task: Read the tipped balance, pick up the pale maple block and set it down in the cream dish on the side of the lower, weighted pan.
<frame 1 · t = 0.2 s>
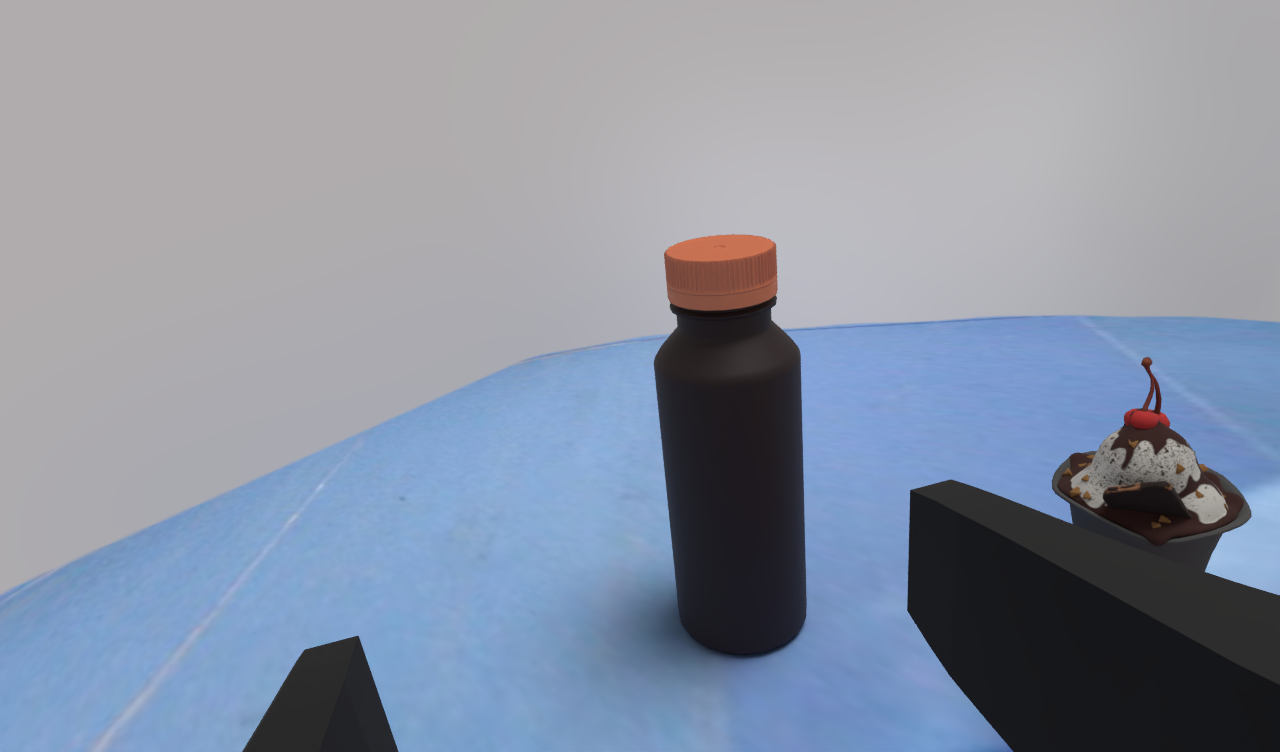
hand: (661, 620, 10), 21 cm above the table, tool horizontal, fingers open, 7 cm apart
bottle: (742, 616, 42), on the table
sundae: (1112, 687, 35), on the table
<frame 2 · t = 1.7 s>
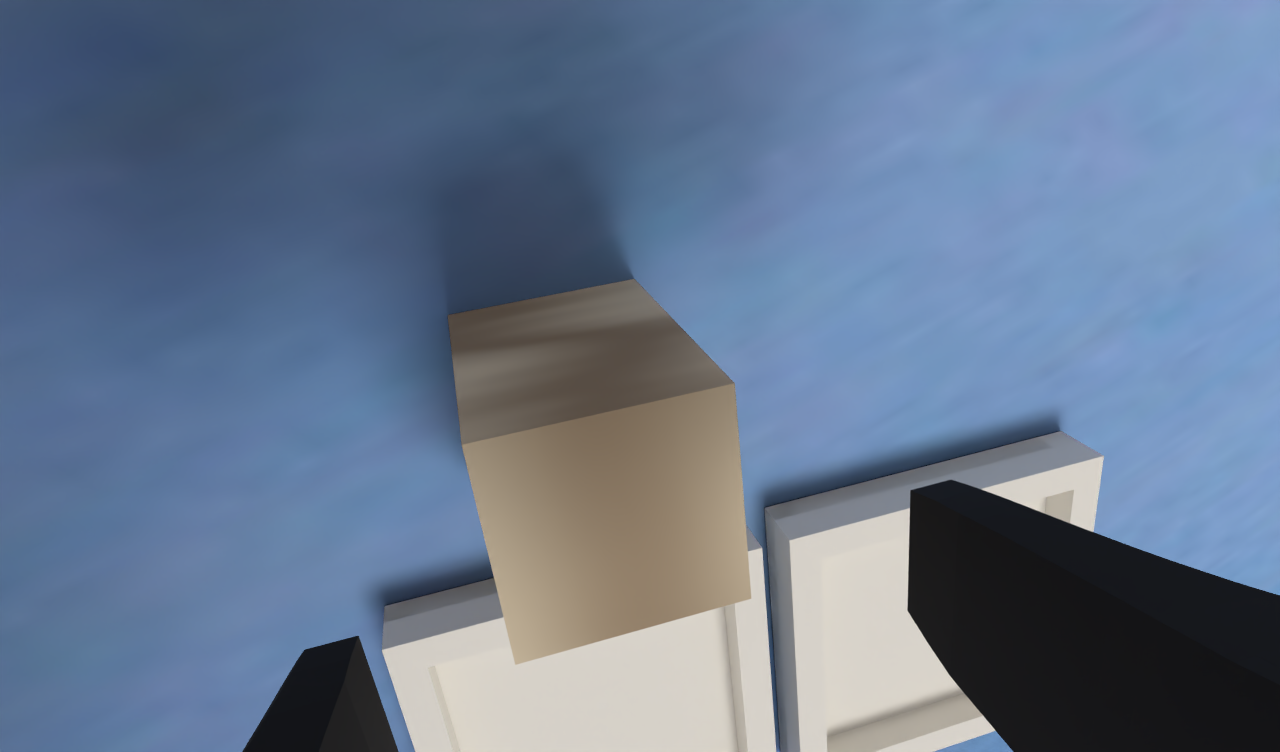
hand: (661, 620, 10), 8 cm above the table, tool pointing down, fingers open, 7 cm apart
outer dish: (914, 598, 23), on the table
inner dish: (595, 692, 21), on the table
maple block: (558, 382, 17), on the table
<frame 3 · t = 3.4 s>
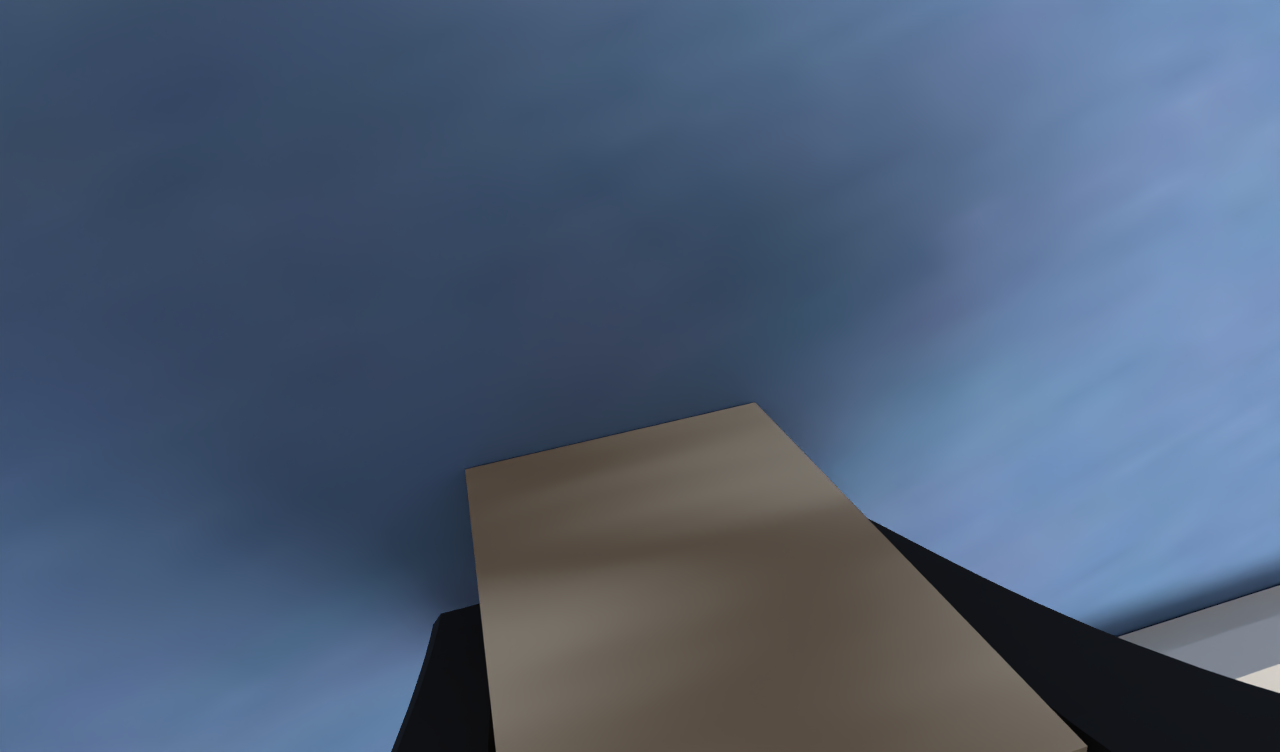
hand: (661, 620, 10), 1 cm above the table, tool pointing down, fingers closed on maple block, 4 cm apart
maple block: (633, 556, 11), on the table, touching gripper
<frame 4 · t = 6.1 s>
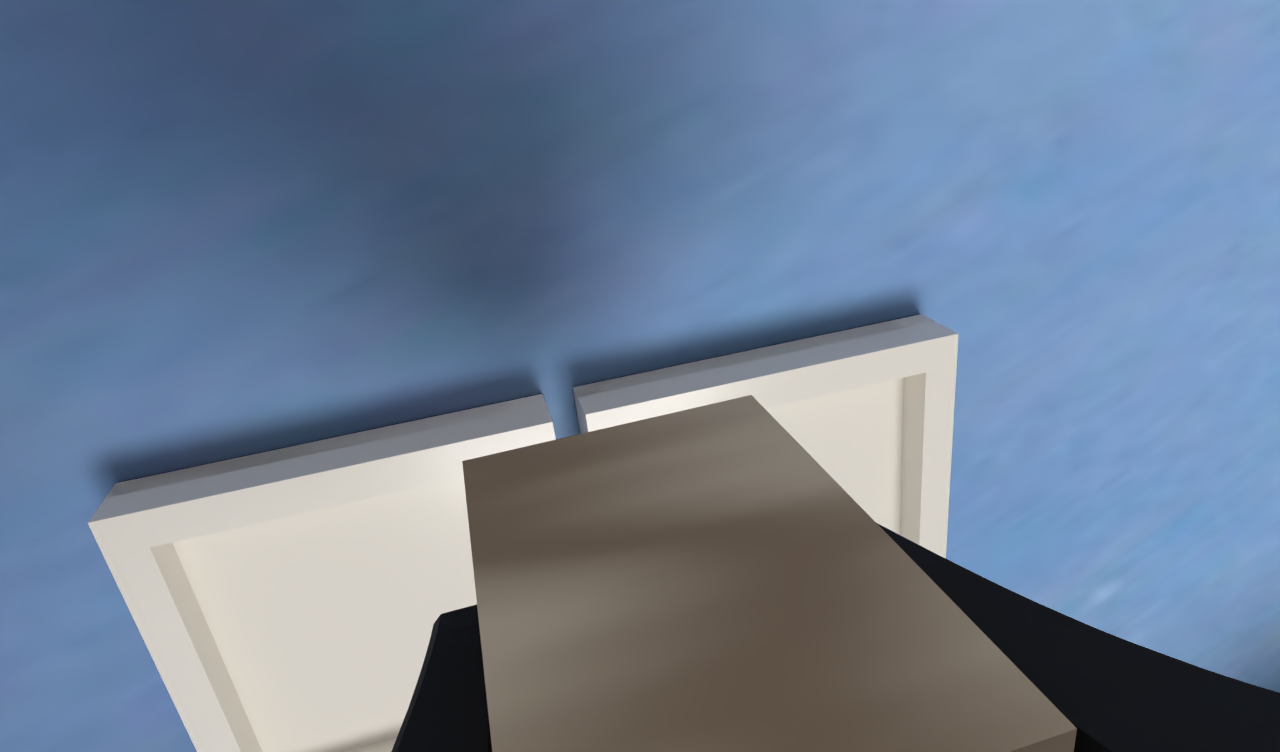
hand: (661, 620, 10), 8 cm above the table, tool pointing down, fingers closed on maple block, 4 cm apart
outer dish: (763, 505, 20), on the table
inner dish: (389, 599, 18), on the table
maple block: (630, 548, 11), point 7 cm above the table, touching gripper
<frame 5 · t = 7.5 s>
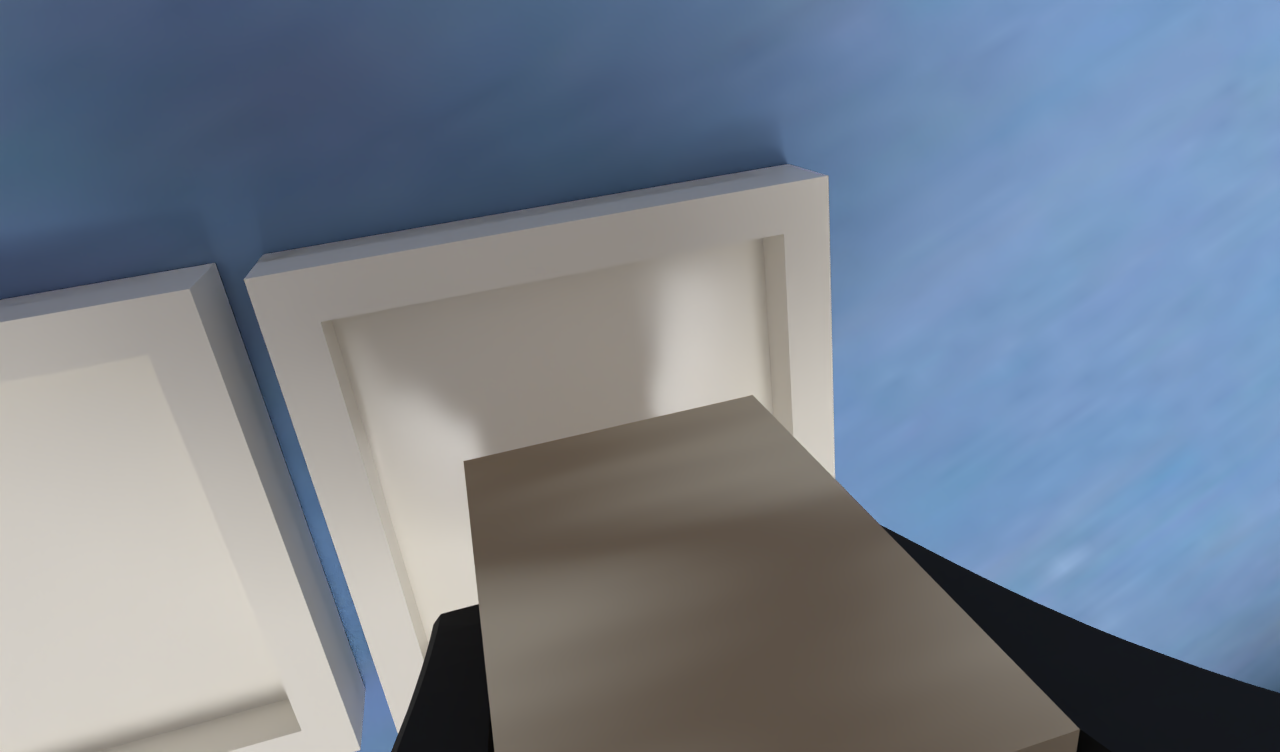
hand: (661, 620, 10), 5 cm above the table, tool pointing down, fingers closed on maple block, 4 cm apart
outer dish: (582, 438, 15), on the table
inner dish: (23, 567, 13), on the table
maple block: (631, 548, 11), point 4 cm above the table, touching gripper
when the fingers open (3 cm above the table, at t = 8.9 s): maple block stays where it is, resting on outer dish.
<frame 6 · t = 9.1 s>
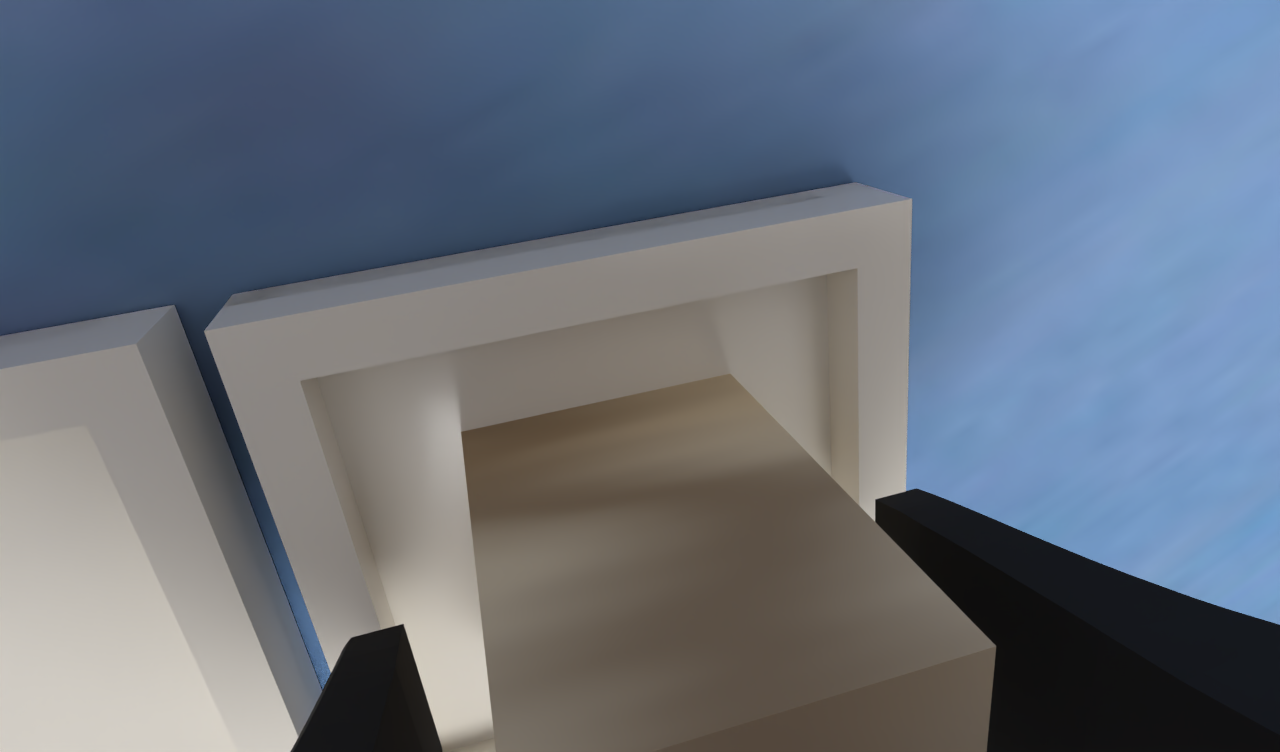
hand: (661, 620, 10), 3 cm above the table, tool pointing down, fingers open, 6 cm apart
outer dish: (610, 500, 13), on the table
maple block: (617, 517, 12), point 1 cm above the table, touching outer dish
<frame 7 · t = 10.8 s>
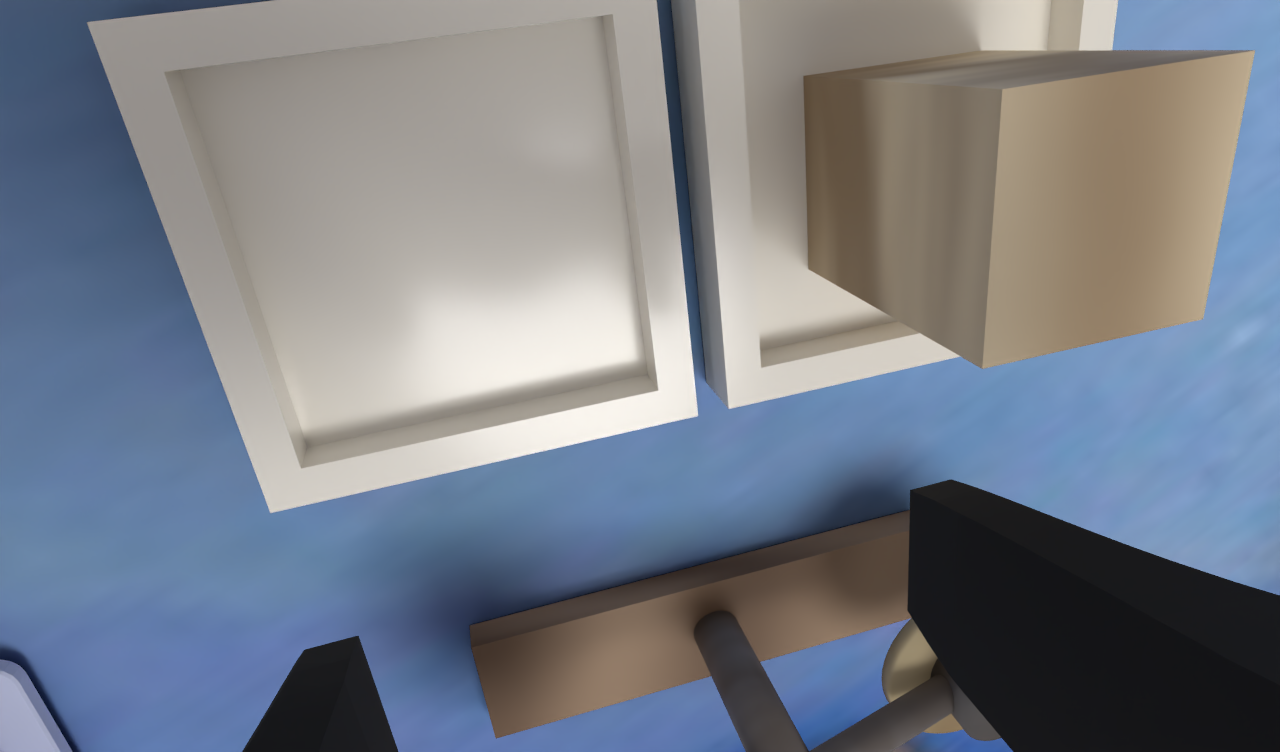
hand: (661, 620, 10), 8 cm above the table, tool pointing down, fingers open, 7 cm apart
outer dish: (878, 161, 17), on the table
inner dish: (445, 237, 16), on the table
balance: (705, 609, 21), on the table
maple block: (892, 162, 17), point 1 cm above the table, touching outer dish
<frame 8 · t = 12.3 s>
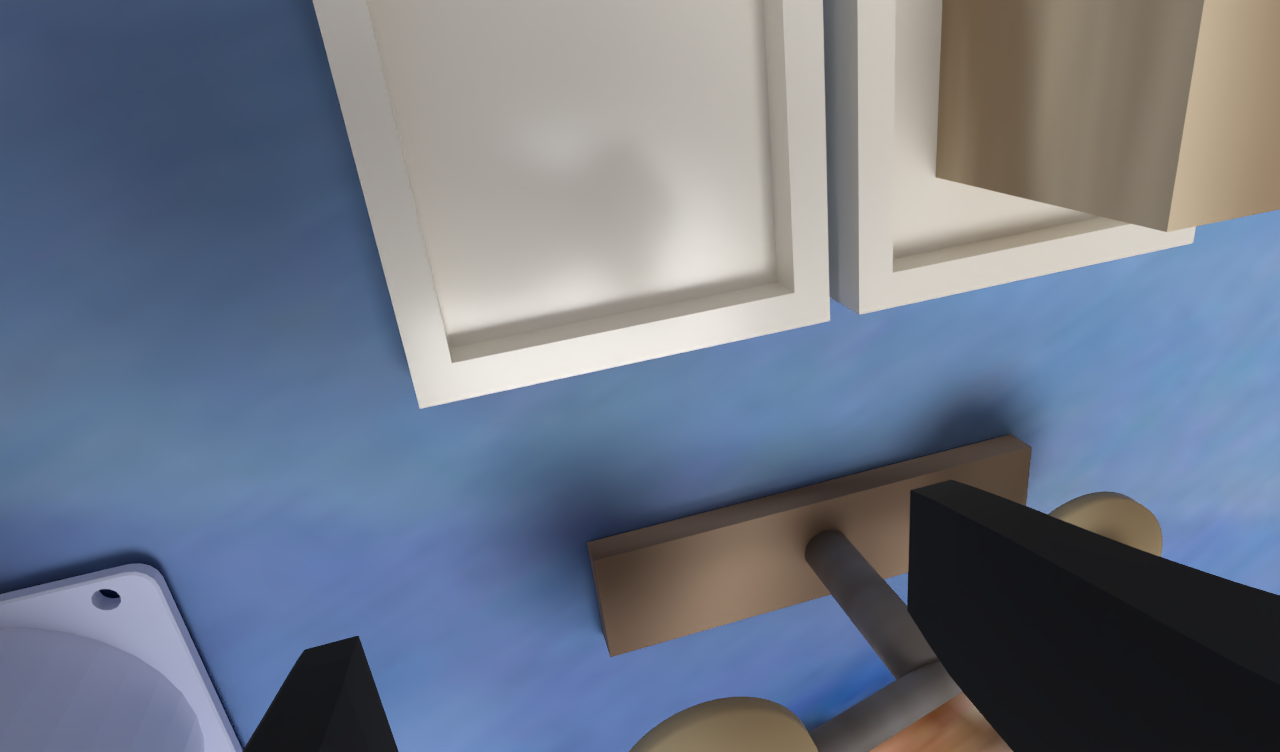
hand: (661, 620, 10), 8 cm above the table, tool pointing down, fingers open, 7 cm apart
outer dish: (1003, 71, 17), on the table
inner dish: (590, 136, 16), on the table
balance: (812, 532, 21), on the table
maple block: (1021, 69, 17), point 1 cm above the table, touching outer dish
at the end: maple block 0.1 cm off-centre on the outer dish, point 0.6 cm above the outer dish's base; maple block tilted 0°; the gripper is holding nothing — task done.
